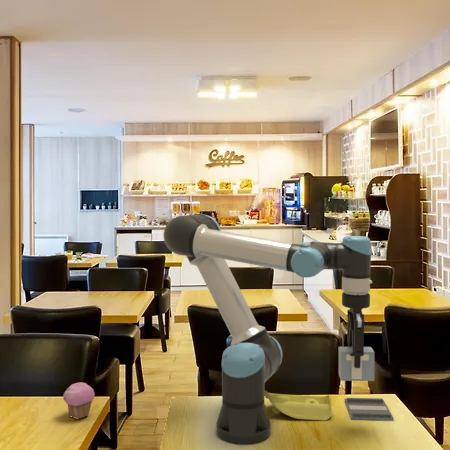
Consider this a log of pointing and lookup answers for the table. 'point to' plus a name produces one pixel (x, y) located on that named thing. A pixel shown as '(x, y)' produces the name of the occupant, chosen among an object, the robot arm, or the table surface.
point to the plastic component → (301, 406)
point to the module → (346, 364)
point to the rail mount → (368, 409)
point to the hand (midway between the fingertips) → (354, 374)
